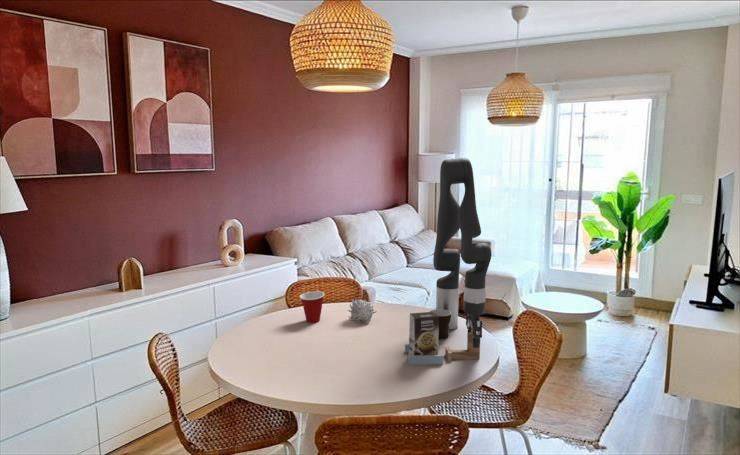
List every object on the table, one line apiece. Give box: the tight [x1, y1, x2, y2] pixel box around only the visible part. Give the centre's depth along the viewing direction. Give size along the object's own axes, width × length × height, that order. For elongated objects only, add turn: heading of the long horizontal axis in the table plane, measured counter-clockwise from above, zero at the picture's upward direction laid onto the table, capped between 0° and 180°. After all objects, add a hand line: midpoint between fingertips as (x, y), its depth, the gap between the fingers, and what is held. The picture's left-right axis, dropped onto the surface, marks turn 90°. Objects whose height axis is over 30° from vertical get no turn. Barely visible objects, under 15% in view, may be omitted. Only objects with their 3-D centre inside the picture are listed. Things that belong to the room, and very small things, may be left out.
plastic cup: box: [299, 290, 325, 324], centre depth 224 cm, size 11×11×12 cm
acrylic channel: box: [404, 343, 444, 366], centre depth 184 cm, size 12×12×3 cm
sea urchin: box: [347, 298, 378, 323], centre depth 225 cm, size 12×11×12 cm
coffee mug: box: [429, 308, 451, 341], centre depth 206 cm, size 12×9×10 cm
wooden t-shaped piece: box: [444, 331, 481, 362], centre depth 184 cm, size 6×12×9 cm, turn 92°
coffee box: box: [408, 311, 439, 355], centre depth 183 cm, size 9×6×16 cm
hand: (473, 343), depth 184 cm, fingers open, 8 cm apart
